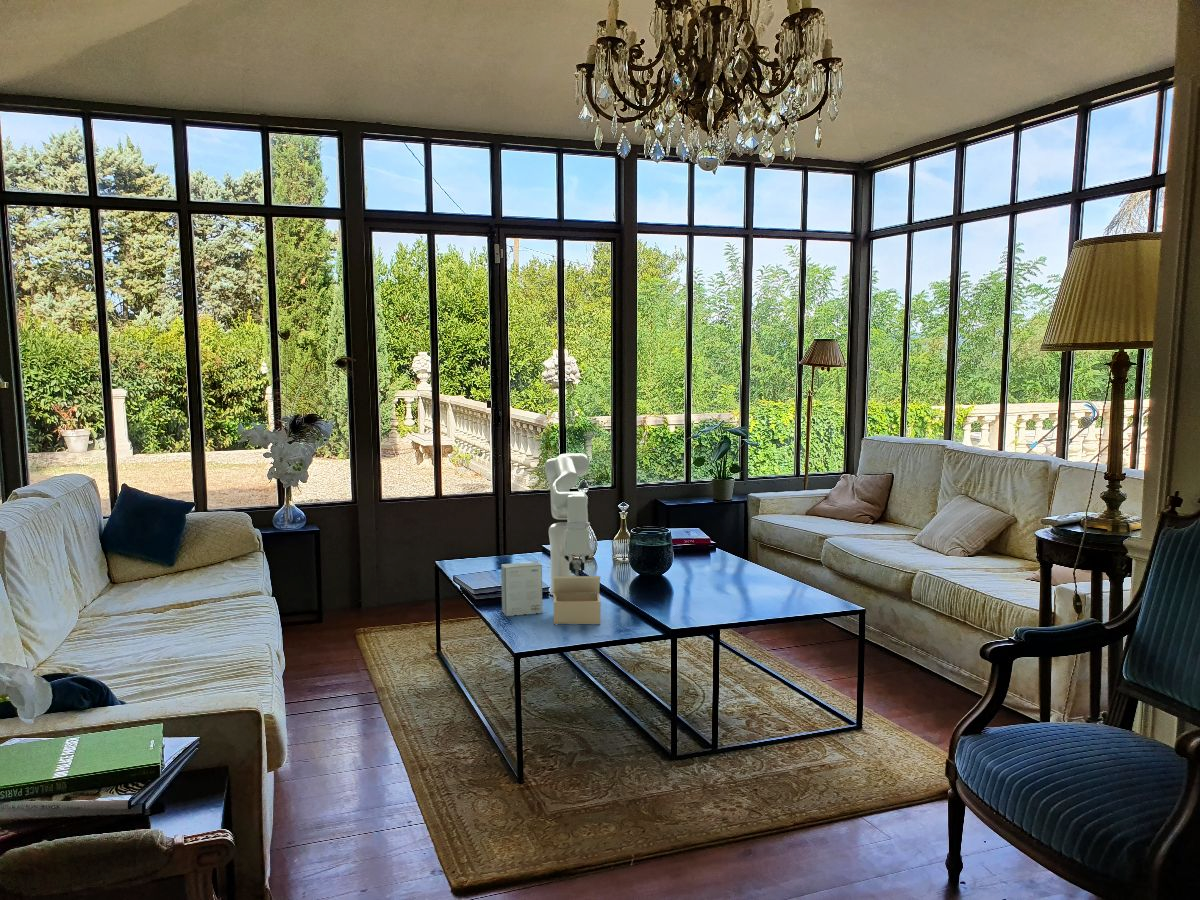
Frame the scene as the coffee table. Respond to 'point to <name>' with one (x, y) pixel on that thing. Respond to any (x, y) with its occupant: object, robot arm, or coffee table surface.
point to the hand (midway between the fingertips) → (576, 571)
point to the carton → (577, 608)
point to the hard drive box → (521, 588)
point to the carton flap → (576, 583)
